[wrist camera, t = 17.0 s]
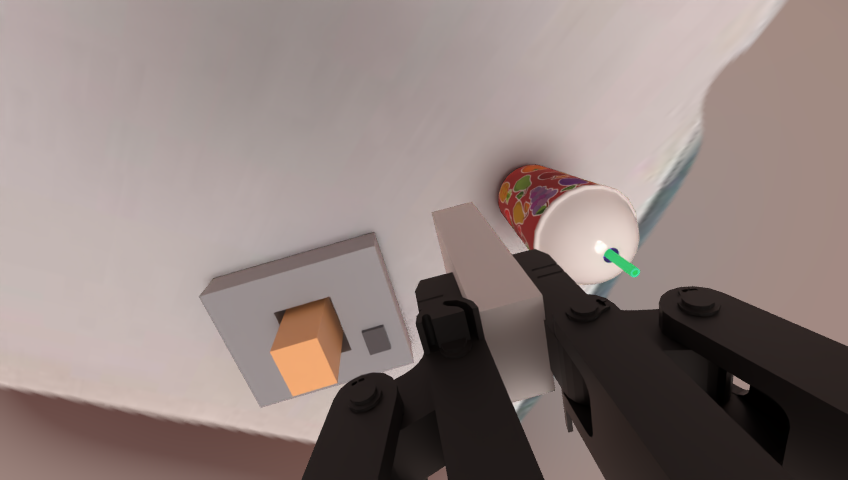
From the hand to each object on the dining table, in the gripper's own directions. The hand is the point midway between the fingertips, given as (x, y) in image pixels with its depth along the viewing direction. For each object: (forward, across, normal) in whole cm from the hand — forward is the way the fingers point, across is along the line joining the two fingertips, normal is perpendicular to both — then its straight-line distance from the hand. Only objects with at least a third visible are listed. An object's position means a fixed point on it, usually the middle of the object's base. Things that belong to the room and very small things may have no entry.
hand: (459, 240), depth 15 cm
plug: (+27, -15, -17) cm, 35 cm away
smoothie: (+28, +11, -9) cm, 31 cm away
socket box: (+27, -15, -17) cm, 35 cm away
